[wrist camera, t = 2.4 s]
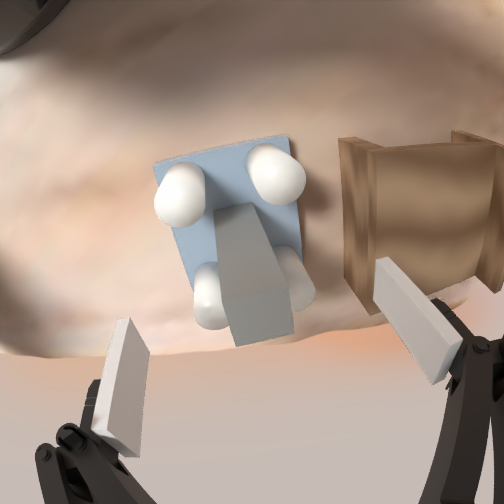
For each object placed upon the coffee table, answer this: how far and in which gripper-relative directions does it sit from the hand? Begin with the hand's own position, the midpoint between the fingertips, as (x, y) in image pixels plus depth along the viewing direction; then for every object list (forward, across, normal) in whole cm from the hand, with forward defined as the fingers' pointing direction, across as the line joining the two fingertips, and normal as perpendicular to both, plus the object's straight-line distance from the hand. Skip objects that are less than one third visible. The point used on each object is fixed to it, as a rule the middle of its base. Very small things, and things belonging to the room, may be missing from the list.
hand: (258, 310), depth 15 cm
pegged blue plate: (+11, 0, +1) cm, 11 cm away
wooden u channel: (+11, +17, -1) cm, 20 cm away
